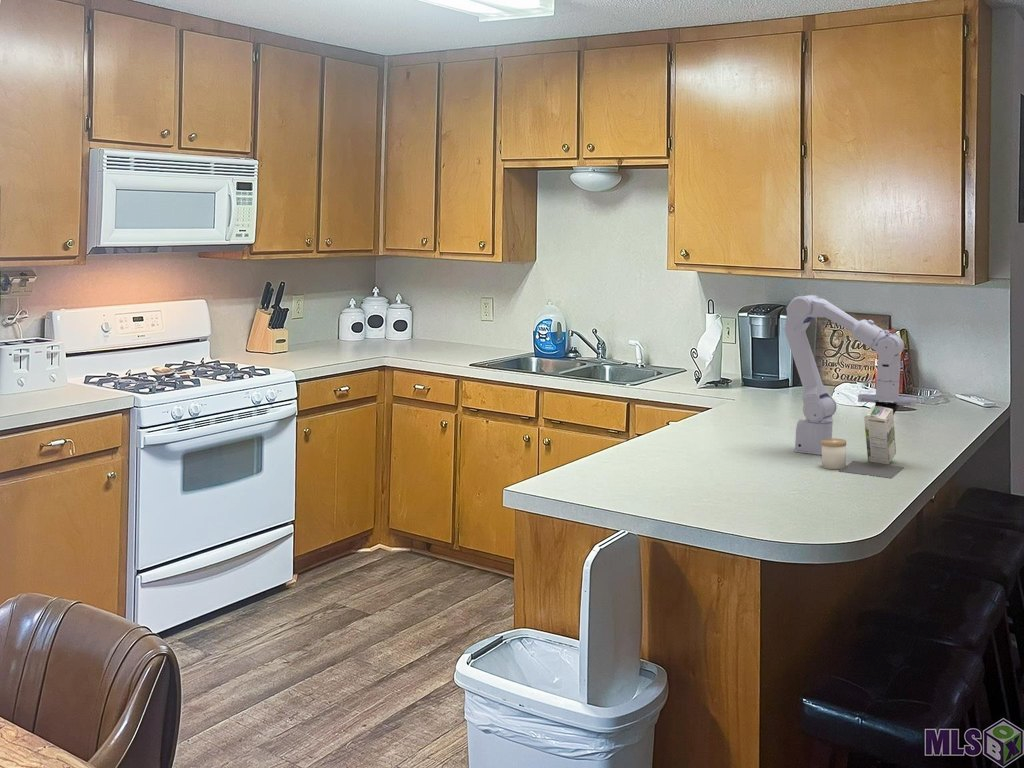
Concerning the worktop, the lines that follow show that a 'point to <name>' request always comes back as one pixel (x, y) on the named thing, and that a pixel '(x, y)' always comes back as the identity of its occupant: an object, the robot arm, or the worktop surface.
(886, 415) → the syrup box
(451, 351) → the worktop surface
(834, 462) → the canister
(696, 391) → the worktop surface
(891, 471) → the mat
